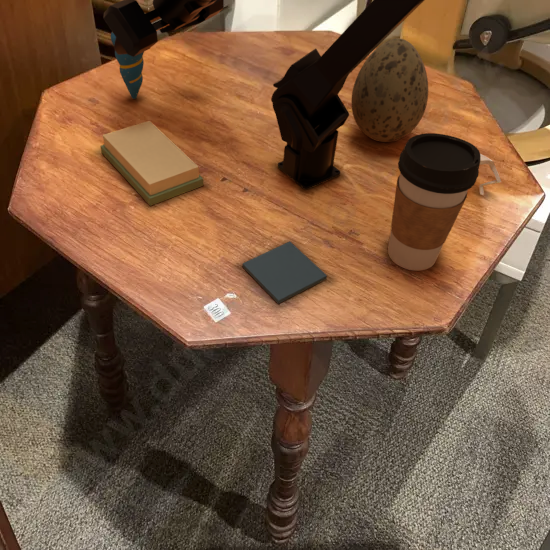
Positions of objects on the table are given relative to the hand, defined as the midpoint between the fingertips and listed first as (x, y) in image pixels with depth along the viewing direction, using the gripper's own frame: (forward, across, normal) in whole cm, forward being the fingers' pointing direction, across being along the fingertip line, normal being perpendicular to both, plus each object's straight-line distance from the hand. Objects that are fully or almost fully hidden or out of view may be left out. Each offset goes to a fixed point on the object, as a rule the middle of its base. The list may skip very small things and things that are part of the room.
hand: (139, 40), depth 88 cm
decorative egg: (-17, -14, +31) cm, 38 cm away
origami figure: (-26, -10, +40) cm, 49 cm away
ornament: (+9, 0, +6) cm, 10 cm away
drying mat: (-20, +19, +34) cm, 43 cm away
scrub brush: (-2, +13, +16) cm, 20 cm away
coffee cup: (-28, +7, +41) cm, 50 cm away
